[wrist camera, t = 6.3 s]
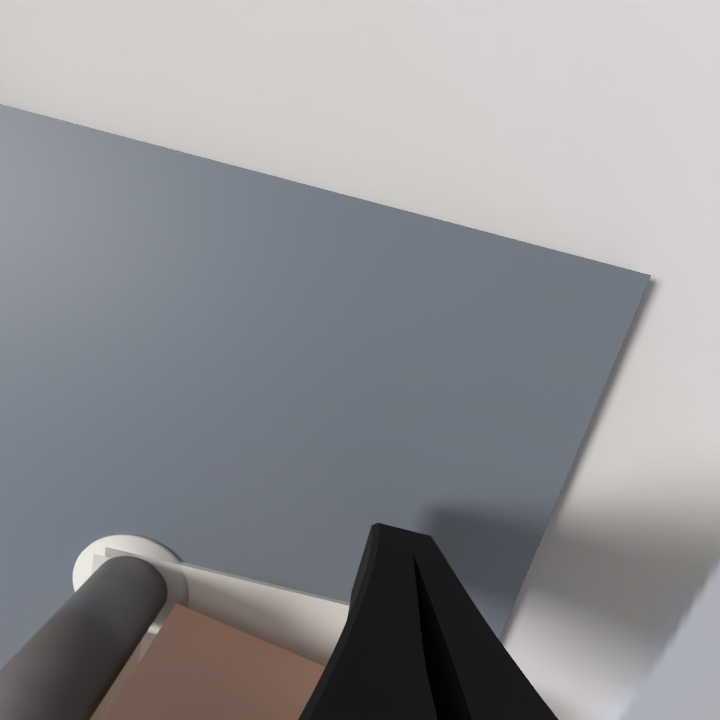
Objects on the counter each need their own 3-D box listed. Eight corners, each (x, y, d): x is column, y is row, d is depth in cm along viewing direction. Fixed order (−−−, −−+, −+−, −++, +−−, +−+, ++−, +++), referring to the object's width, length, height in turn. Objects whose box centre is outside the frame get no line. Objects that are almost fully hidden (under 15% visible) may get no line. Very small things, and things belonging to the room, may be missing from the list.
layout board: (390, 877, 13) (391, 901, 12) (-124, 760, 12) (-145, 779, 12) (637, 276, 8) (654, 275, 8) (-163, 65, 8) (-198, 51, 7)
